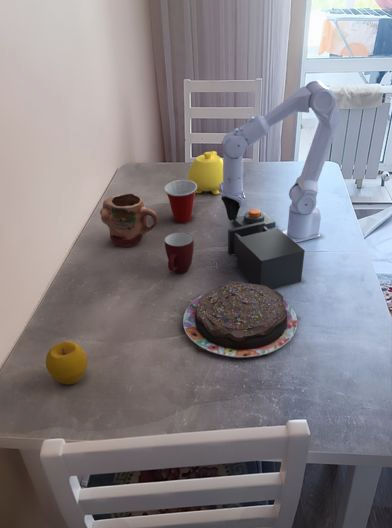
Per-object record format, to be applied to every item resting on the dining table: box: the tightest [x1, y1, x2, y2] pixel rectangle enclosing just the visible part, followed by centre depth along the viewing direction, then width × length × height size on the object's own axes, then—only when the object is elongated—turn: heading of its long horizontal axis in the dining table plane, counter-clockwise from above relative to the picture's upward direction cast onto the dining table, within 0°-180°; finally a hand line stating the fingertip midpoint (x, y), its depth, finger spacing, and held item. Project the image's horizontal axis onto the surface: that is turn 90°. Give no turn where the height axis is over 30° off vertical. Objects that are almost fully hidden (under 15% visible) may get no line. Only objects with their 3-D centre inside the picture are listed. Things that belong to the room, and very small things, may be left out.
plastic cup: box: [163, 179, 197, 224], centre depth 161 cm, size 11×11×12 cm
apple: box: [45, 340, 88, 386], centre depth 102 cm, size 9×8×9 cm
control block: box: [232, 210, 277, 229], centre depth 159 cm, size 11×9×4 cm
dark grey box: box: [227, 222, 270, 259], centre depth 140 cm, size 17×12×8 cm
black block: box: [236, 228, 306, 290], centre depth 132 cm, size 14×13×10 cm
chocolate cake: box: [182, 281, 298, 359], centre depth 116 cm, size 28×28×7 cm
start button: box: [248, 208, 261, 218], centre depth 157 cm, size 4×4×2 cm
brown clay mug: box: [99, 193, 159, 248], centre depth 149 cm, size 20×12×14 cm, turn 73°
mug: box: [164, 232, 195, 274], centre depth 135 cm, size 10×8×10 cm
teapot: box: [187, 150, 224, 195], centre depth 182 cm, size 20×16×14 cm
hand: (232, 219), depth 148 cm, fingers closed
